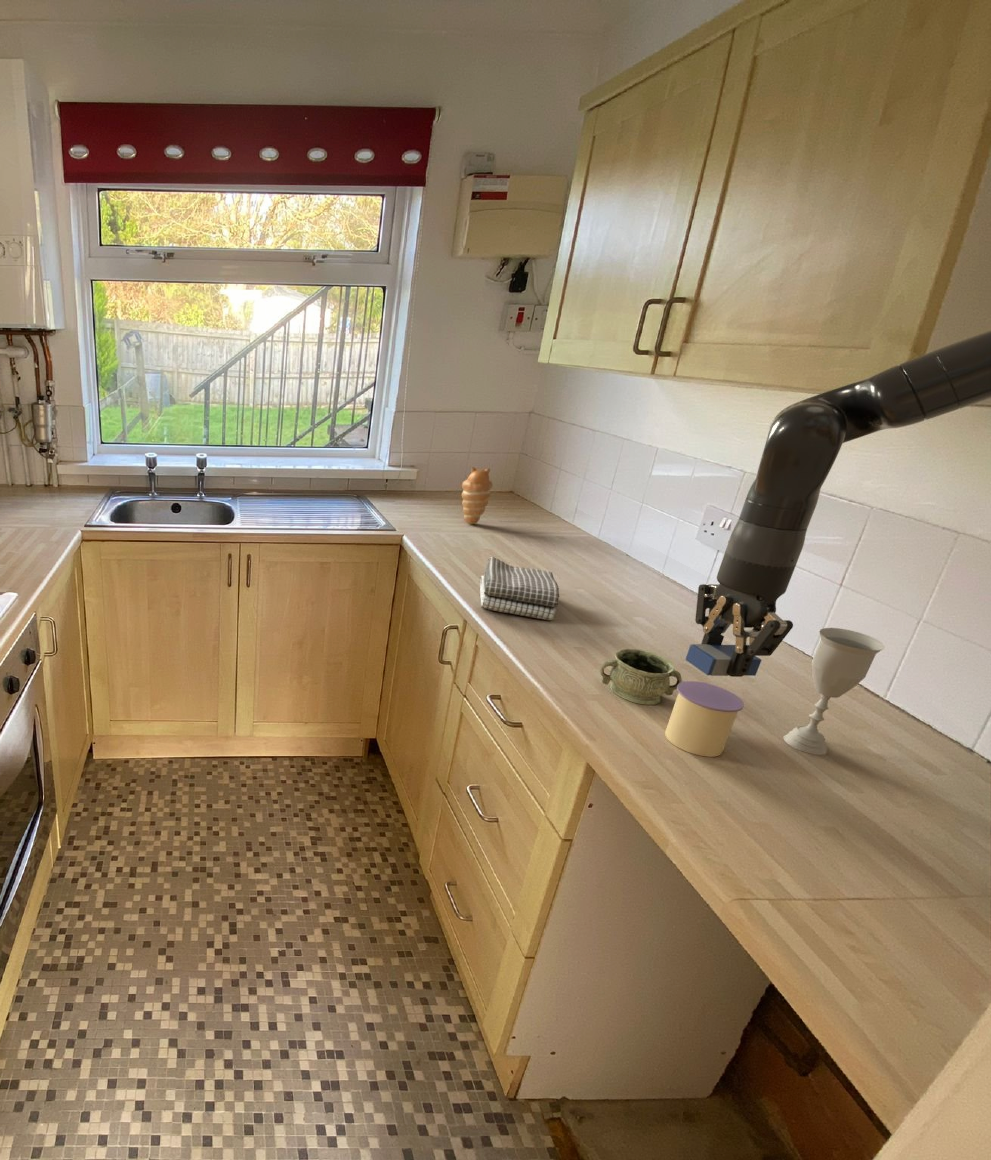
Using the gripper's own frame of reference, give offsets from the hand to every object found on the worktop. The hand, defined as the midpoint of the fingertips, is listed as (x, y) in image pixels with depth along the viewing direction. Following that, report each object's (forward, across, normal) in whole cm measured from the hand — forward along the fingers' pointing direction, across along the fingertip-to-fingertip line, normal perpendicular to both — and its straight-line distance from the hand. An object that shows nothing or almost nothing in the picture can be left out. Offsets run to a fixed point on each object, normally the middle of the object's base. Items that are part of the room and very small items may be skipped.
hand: (720, 665), depth 92 cm
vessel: (+14, +14, 0) cm, 19 cm away
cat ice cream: (+14, +114, -11) cm, 115 cm away
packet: (0, 0, 0) cm, 0 cm away
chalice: (+13, -1, -17) cm, 22 cm away
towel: (+14, +52, +3) cm, 54 cm away
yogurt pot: (+13, 0, 0) cm, 13 cm away
